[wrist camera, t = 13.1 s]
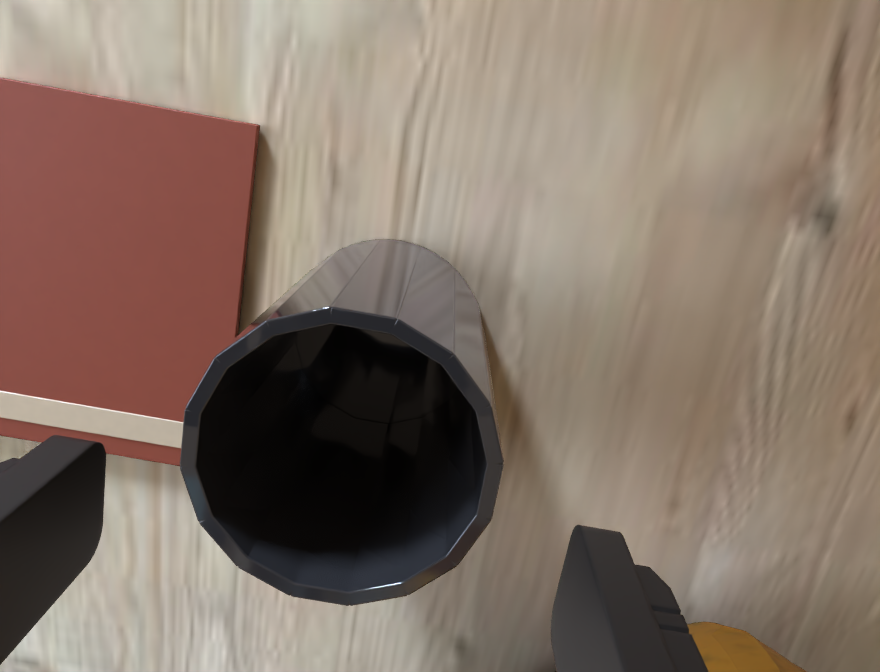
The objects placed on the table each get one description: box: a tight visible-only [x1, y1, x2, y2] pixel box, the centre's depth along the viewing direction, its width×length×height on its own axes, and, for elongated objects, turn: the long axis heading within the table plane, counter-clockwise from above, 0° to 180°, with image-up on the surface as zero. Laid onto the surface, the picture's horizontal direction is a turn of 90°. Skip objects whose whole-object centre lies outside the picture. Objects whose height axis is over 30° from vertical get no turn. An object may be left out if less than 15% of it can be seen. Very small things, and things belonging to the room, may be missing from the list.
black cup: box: [180, 239, 504, 606], centre depth 19 cm, size 6×6×10 cm
